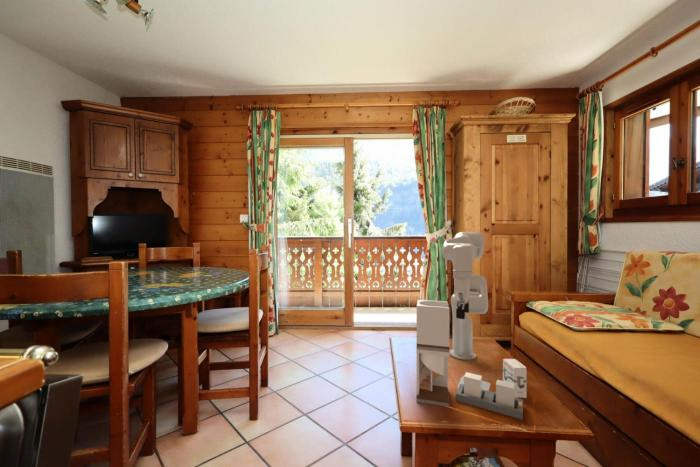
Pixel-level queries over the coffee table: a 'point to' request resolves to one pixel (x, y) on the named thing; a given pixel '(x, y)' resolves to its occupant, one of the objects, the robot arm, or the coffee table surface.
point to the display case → (432, 352)
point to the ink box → (516, 376)
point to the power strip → (490, 403)
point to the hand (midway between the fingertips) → (462, 315)
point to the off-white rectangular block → (505, 393)
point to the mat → (484, 384)
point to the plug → (473, 385)
